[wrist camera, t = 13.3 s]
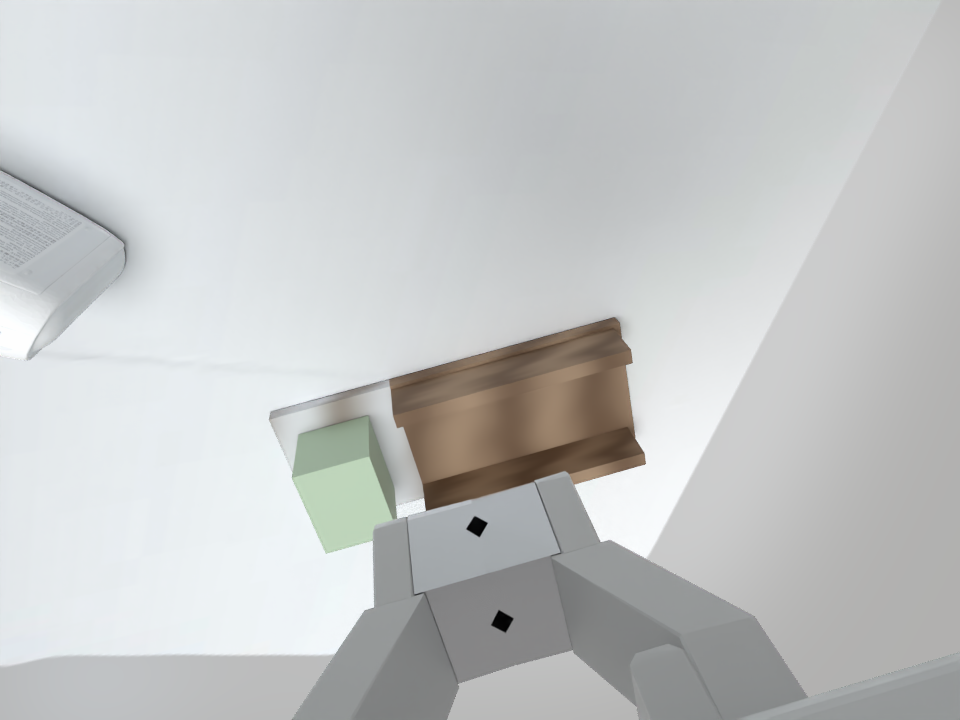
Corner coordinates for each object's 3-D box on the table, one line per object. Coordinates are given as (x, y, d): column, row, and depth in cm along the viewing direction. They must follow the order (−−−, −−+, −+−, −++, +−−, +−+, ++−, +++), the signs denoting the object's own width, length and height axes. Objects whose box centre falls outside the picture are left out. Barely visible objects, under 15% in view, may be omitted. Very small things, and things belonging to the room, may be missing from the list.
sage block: (368, 415, 47) (369, 456, 43) (394, 488, 50) (397, 533, 46) (298, 434, 47) (291, 477, 42) (329, 506, 50) (326, 553, 46)
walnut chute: (614, 317, 48) (637, 344, 44) (630, 431, 53) (652, 464, 49) (270, 412, 47) (262, 448, 43) (318, 519, 52) (314, 561, 48)
